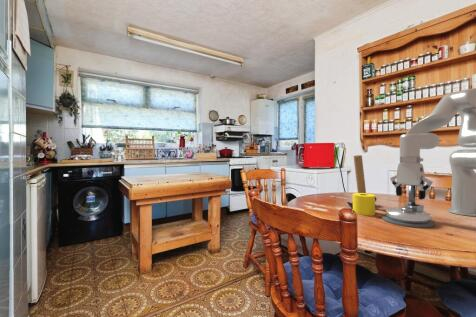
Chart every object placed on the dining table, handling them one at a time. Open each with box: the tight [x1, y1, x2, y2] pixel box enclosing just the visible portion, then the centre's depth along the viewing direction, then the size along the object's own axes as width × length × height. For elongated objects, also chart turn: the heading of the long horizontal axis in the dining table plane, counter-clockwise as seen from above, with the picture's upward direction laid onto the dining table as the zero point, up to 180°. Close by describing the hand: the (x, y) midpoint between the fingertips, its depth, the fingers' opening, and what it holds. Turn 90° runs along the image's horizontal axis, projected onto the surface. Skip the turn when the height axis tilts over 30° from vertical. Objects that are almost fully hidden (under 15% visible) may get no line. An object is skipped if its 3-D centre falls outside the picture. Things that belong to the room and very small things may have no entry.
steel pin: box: [408, 185, 417, 206], centre depth 106 cm, size 2×2×12 cm
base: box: [381, 213, 436, 229], centre depth 104 cm, size 19×19×1 cm
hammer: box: [346, 154, 378, 209], centre depth 130 cm, size 20×5×30 cm, turn 120°
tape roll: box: [352, 192, 376, 217], centre depth 118 cm, size 10×10×9 cm
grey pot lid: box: [385, 203, 431, 224], centre depth 104 cm, size 16×16×6 cm
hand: (410, 197), depth 107 cm, fingers open, 9 cm apart
